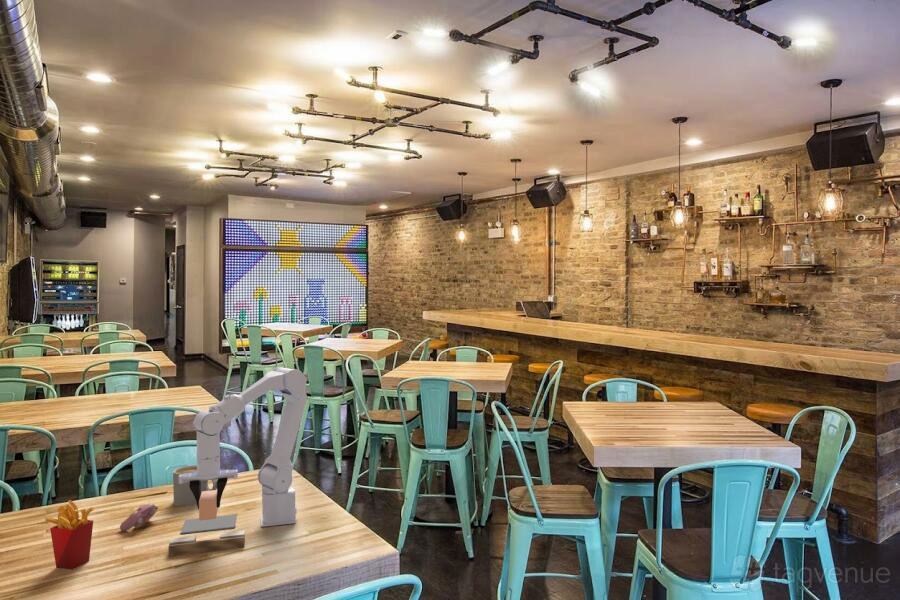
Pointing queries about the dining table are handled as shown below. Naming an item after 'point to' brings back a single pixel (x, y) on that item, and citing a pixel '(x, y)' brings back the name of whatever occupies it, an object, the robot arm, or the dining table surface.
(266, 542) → the dining table surface
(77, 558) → the french fries
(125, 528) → the video game controller
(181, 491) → the coffee mug
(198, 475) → the robot arm
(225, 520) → the slate pad
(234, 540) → the brown u-shaped block
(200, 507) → the salmon pillar
